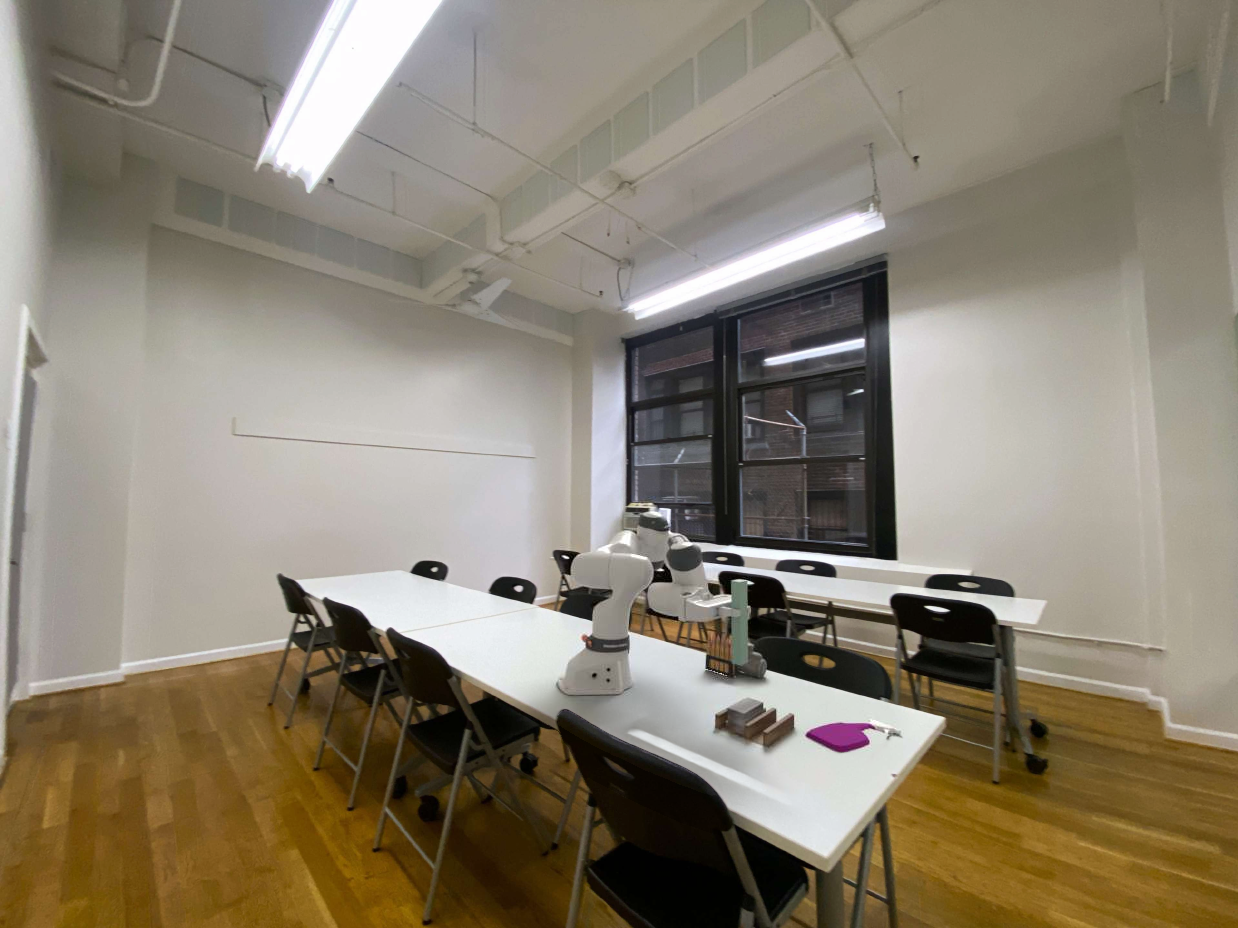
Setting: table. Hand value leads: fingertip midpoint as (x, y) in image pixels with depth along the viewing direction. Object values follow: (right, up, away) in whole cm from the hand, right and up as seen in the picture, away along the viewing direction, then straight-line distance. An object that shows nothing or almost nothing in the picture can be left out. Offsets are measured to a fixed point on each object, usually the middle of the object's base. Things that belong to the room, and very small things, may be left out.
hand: (744, 611), depth 121 cm
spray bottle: (+25, -29, -6) cm, 38 cm away
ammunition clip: (+2, -32, +38) cm, 50 cm away
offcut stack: (0, -26, -3) cm, 27 cm away
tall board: (-1, -13, 0) cm, 13 cm away
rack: (+1, -28, -4) cm, 28 cm away
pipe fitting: (+11, -32, +38) cm, 51 cm away
